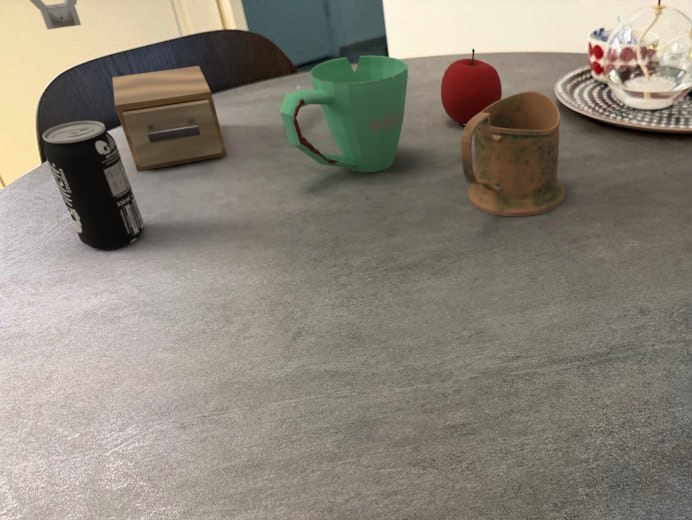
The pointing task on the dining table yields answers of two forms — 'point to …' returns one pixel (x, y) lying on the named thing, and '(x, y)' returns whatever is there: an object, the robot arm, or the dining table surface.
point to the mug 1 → (354, 111)
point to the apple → (469, 88)
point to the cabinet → (163, 100)
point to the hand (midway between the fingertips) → (63, 26)
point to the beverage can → (93, 184)
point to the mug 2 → (514, 156)
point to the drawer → (172, 132)
